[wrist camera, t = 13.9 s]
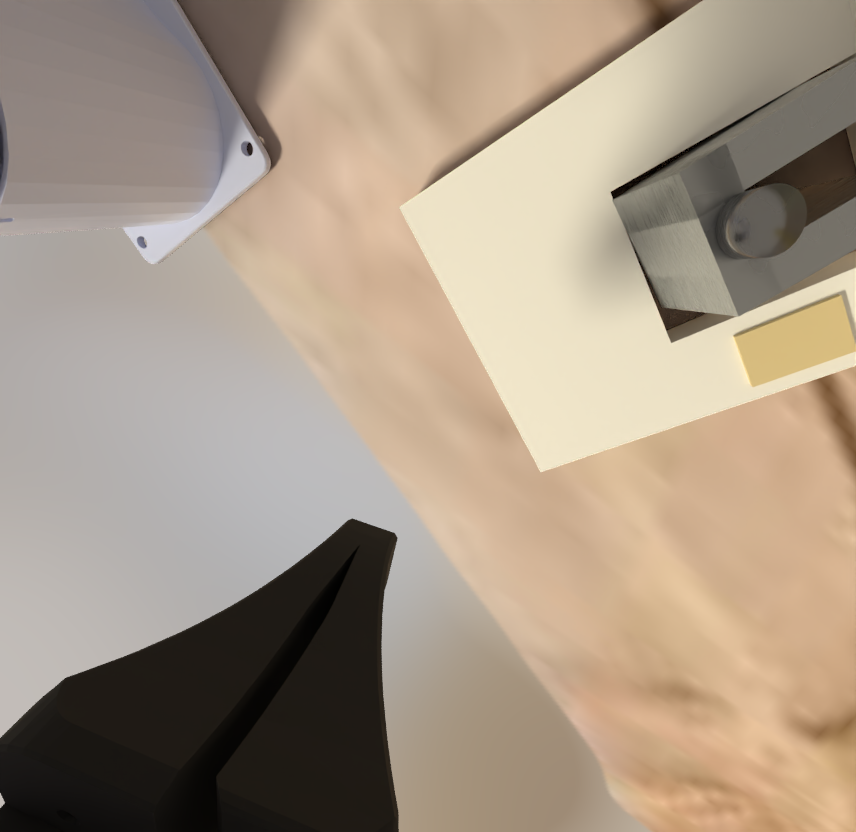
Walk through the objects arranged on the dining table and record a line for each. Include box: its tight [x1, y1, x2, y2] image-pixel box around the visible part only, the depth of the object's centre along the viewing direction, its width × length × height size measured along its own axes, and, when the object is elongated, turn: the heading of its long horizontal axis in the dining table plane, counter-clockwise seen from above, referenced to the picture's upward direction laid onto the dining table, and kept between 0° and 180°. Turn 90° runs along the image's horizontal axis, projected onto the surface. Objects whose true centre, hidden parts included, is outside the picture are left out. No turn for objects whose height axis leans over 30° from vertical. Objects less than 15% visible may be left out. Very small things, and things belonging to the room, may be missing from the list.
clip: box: [612, 57, 856, 317], centre depth 13 cm, size 4×5×5 cm
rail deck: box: [399, 0, 856, 472], centre depth 15 cm, size 12×14×2 cm
